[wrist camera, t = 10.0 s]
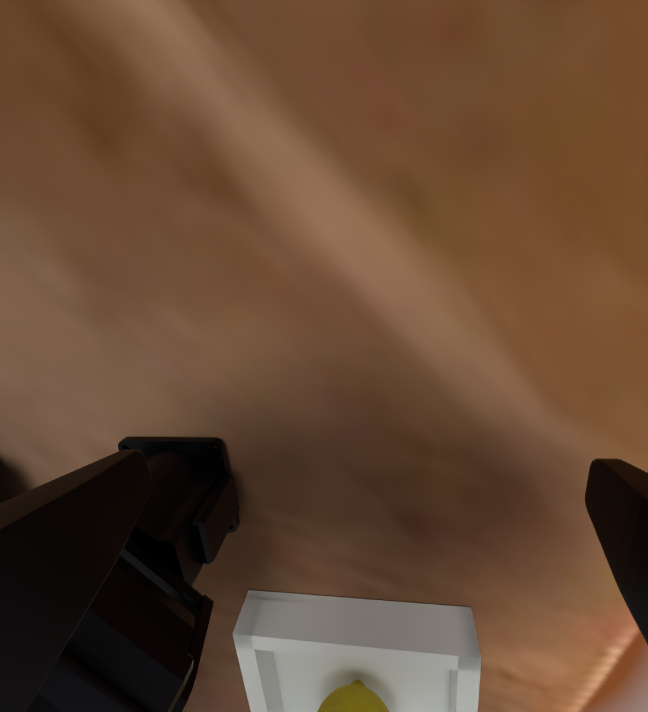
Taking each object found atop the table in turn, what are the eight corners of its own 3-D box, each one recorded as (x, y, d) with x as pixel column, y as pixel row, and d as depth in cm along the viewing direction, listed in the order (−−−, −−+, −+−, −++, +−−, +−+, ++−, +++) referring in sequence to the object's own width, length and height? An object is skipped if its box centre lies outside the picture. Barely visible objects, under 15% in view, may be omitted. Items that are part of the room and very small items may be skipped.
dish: (275, 722, 32) (265, 771, 29) (248, 589, 27) (232, 633, 24) (463, 747, 30) (471, 804, 27) (471, 607, 25) (481, 658, 22)
